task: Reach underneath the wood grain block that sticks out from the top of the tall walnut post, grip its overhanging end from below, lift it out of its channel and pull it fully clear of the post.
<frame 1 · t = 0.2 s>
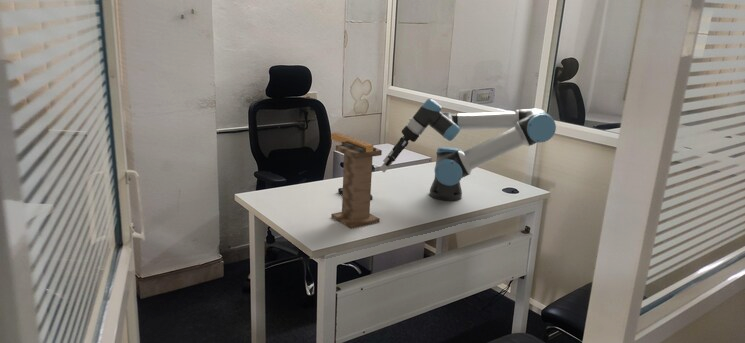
hand: (383, 166, 241), 15 cm above the table, tool tilted 35°, fingers open, 13 cm apart
wood grain block: (351, 145, 214), point 30 cm above the table, touching stand
disk drive: (355, 197, 247), on the table
stand: (355, 219, 219), on the table
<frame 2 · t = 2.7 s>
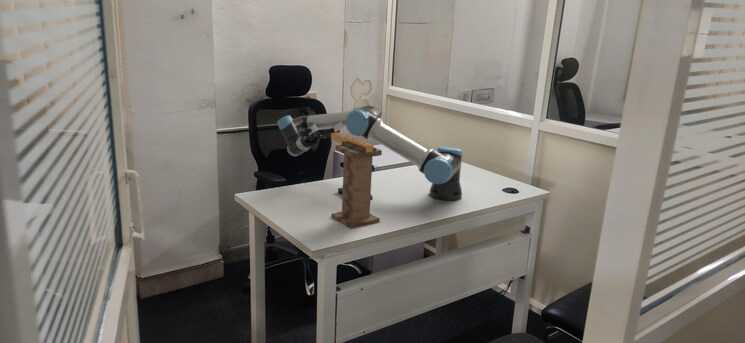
hand: (329, 125, 238), 32 cm above the table, tool pointing upward, fingers open, 13 cm apart
nothing on the table moved.
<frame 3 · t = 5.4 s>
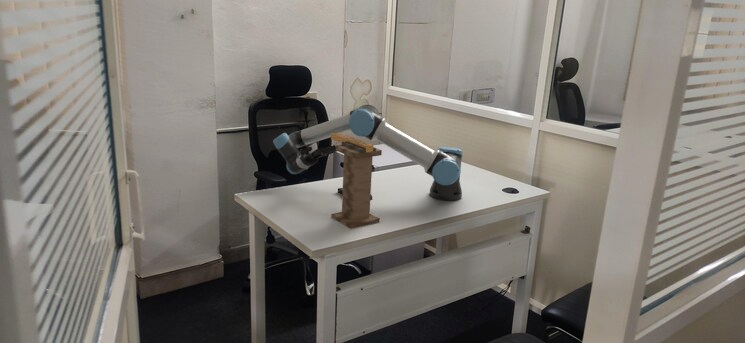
hand: (330, 143, 225), 27 cm above the table, tool pointing upward, fingers open, 13 cm apart
nothing on the table moved.
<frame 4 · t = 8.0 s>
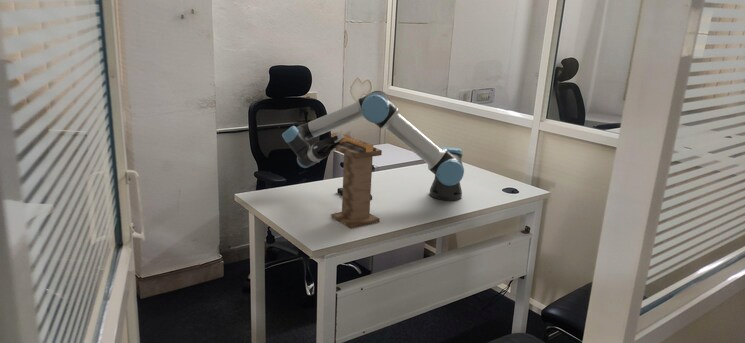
hand: (346, 134, 215), 34 cm above the table, tool pointing upward, fingers closed on wood grain block, 3 cm apart
wood grain block: (351, 145, 214), point 30 cm above the table, touching gripper, stand
everything else where it was.
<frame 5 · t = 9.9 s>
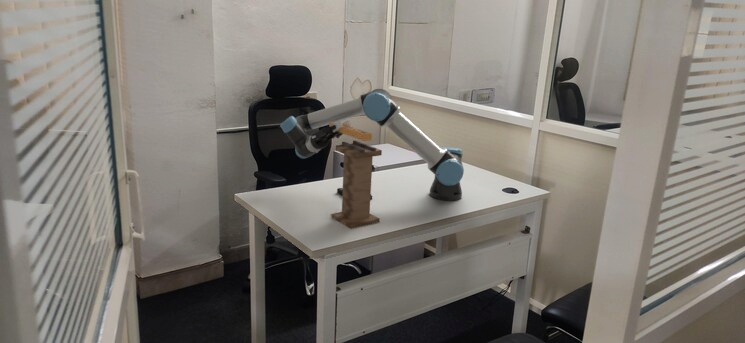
hand: (345, 123, 215), 38 cm above the table, tool pointing upward, fingers closed on wood grain block, 3 cm apart
wood grain block: (349, 134, 213), point 34 cm above the table, touching gripper
everything else where it was.
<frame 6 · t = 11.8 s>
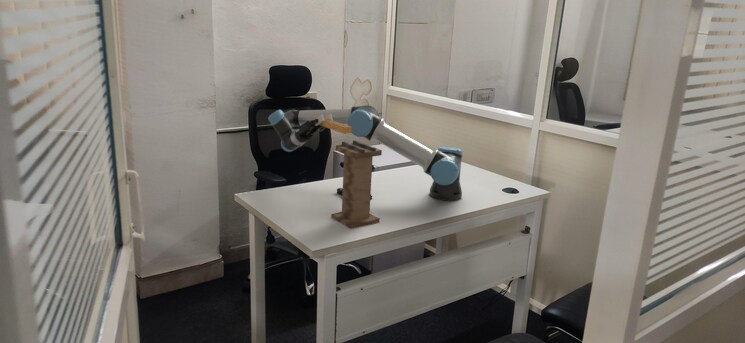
hand: (327, 117, 224), 38 cm above the table, tool pointing upward, fingers closed on wood grain block, 3 cm apart
wood grain block: (331, 127, 223), point 34 cm above the table, touching gripper
everything else where it was.
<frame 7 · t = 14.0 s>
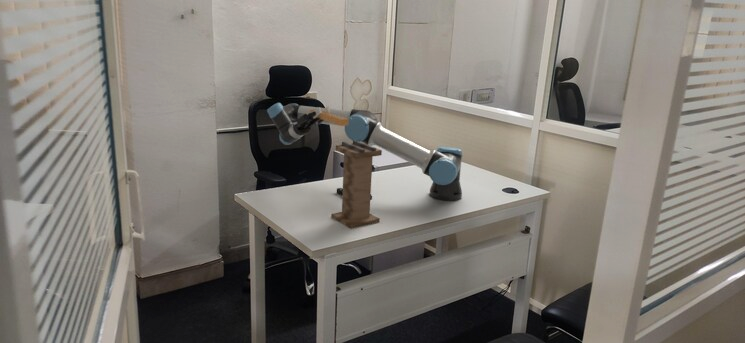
hand: (324, 109, 226), 41 cm above the table, tool pointing upward, fingers closed on wood grain block, 3 cm apart
wood grain block: (328, 120, 225), point 37 cm above the table, touching gripper
everything else where it was.
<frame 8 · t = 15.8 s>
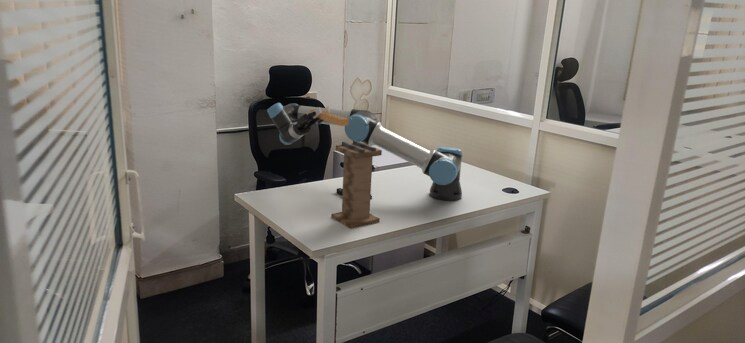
hand: (324, 109, 226), 41 cm above the table, tool pointing upward, fingers closed on wood grain block, 3 cm apart
wood grain block: (328, 120, 225), point 37 cm above the table, touching gripper
everything else where it was.
at the end: the gripper is holding wood grain block; wood grain block touching gripper; wood grain block moved 18.3 cm from its start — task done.
